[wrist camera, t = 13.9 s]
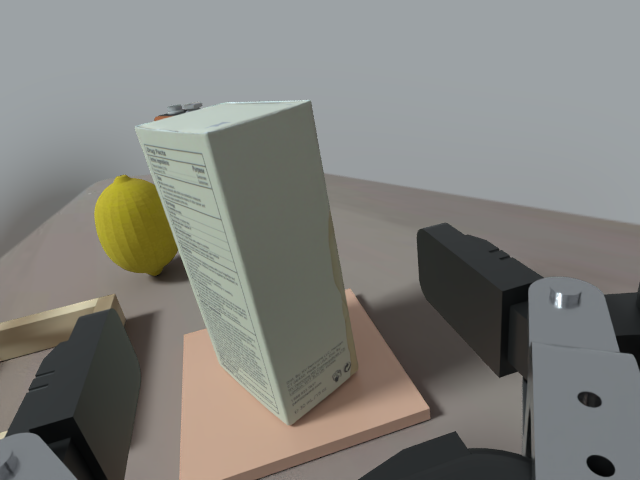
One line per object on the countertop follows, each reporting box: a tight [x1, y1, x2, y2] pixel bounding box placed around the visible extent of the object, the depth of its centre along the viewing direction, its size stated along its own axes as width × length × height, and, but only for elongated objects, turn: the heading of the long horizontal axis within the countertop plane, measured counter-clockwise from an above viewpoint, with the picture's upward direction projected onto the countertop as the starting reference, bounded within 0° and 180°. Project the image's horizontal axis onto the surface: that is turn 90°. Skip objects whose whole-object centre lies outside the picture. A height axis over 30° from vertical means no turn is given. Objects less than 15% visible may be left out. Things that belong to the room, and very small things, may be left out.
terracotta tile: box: [179, 288, 430, 480], centre depth 21 cm, size 10×10×1 cm
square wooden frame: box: [0, 294, 126, 439], centre depth 22 cm, size 10×11×2 cm
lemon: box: [94, 175, 178, 276], centre depth 32 cm, size 6×6×8 cm
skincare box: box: [135, 100, 358, 425], centre depth 18 cm, size 6×4×12 cm
